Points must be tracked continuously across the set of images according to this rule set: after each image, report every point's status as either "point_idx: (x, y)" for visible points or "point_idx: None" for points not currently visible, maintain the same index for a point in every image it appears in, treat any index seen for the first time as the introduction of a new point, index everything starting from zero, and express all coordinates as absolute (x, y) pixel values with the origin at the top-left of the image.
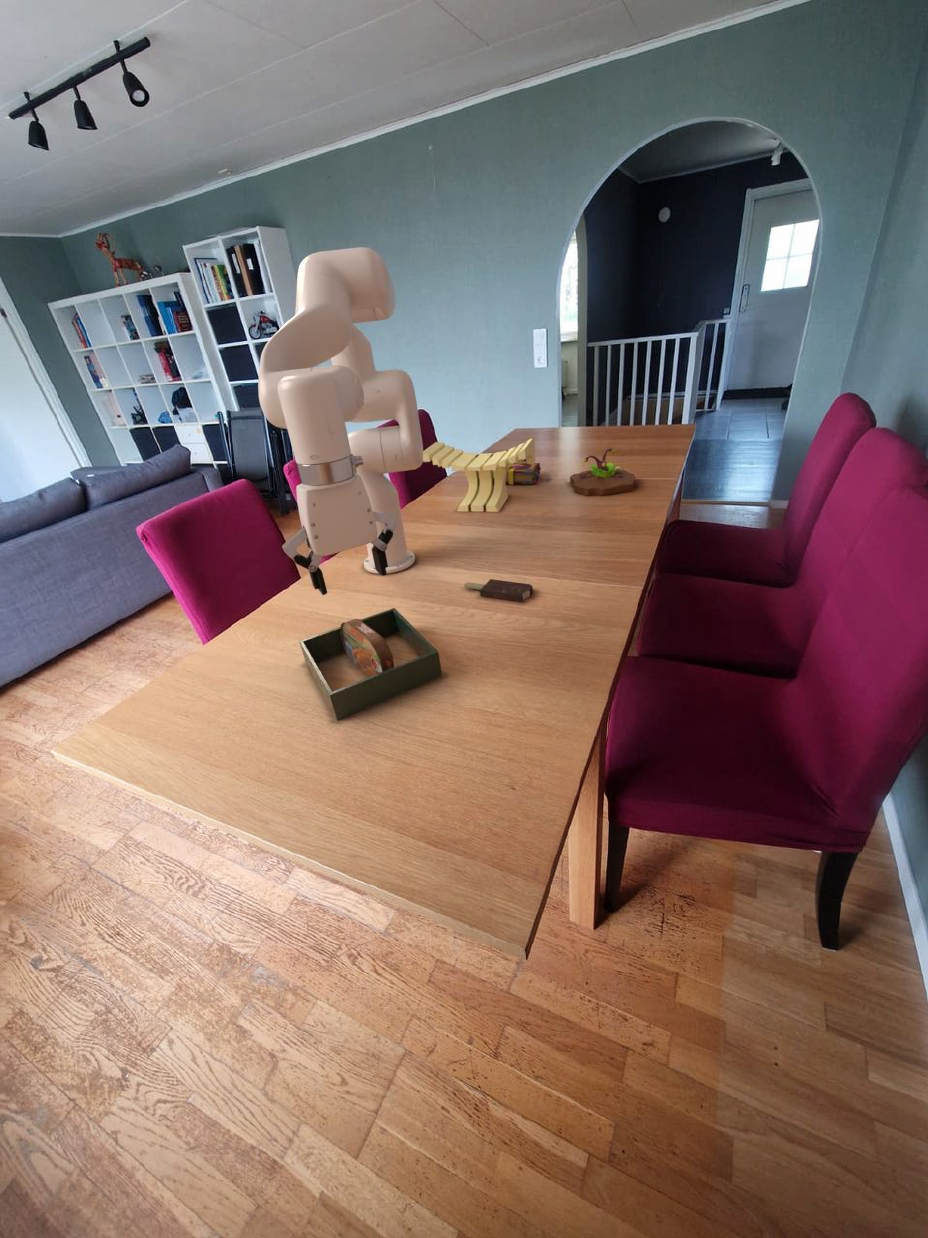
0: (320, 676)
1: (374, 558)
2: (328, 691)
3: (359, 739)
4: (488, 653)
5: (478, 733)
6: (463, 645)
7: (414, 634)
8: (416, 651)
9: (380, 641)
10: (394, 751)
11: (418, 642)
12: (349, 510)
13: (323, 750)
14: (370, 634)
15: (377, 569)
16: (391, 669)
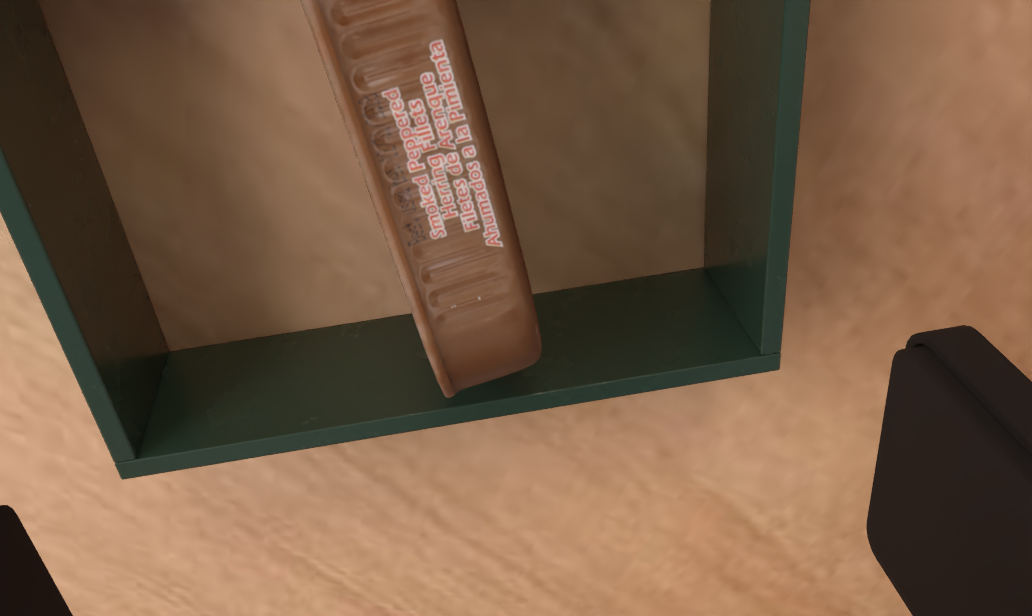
0: (52, 306)
1: (1016, 541)
2: (113, 451)
3: (251, 494)
4: (1004, 210)
5: (661, 590)
6: (966, 75)
7: (768, 86)
8: (715, 19)
9: (505, 349)
10: (372, 577)
11: (750, 122)
12: None
13: (93, 499)
14: (462, 259)
15: (904, 440)
16: (492, 412)
